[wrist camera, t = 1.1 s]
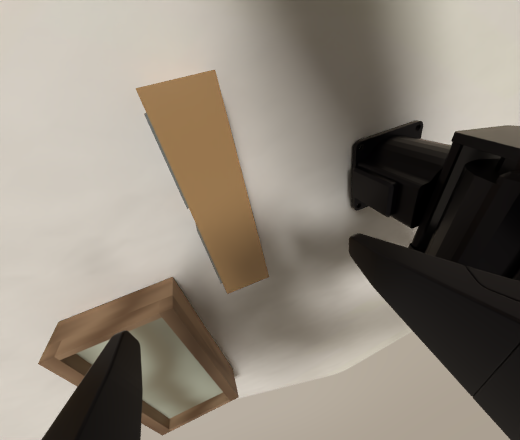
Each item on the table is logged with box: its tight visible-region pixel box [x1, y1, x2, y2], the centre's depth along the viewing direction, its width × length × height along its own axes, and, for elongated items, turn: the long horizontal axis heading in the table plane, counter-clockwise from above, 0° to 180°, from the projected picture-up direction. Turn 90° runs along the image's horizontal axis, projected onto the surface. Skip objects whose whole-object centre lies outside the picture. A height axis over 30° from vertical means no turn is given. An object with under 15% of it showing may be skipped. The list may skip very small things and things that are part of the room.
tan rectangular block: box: [136, 70, 269, 294], centre depth 15 cm, size 4×14×4 cm, turn 13°
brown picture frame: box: [38, 277, 238, 435], centre depth 22 cm, size 9×18×3 cm, turn 14°
